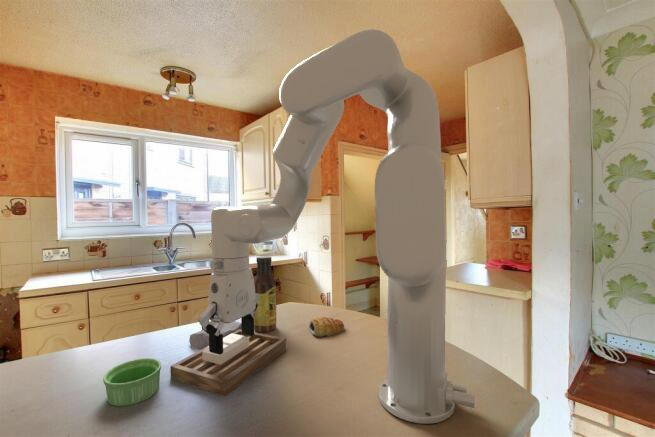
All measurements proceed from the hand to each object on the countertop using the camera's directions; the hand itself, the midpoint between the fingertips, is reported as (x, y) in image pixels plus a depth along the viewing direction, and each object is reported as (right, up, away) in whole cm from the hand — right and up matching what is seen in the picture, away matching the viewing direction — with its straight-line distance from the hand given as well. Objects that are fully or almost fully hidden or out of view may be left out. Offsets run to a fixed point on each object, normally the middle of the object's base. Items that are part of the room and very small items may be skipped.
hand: (233, 343), depth 68 cm
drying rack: (0, -4, 0) cm, 4 cm away
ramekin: (-15, -5, -10) cm, 19 cm away
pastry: (+20, -4, +17) cm, 26 cm away
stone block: (-8, -4, +12) cm, 15 cm away
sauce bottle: (+3, -4, +19) cm, 19 cm away
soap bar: (-2, -3, +1) cm, 3 cm away
